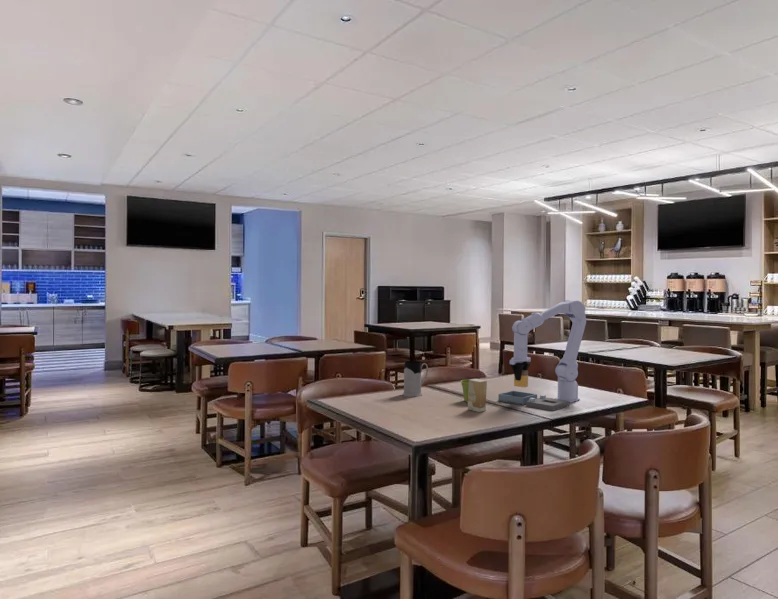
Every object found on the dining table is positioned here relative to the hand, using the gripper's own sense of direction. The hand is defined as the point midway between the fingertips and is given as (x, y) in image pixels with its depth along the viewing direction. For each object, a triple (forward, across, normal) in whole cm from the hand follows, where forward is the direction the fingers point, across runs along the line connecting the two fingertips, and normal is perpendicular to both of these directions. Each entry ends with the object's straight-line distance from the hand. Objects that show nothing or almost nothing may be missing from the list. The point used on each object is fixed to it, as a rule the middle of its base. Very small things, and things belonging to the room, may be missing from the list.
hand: (520, 379), depth 237 cm
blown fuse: (+3, 0, 0) cm, 3 cm away
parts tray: (+10, 0, -1) cm, 10 cm away
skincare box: (+10, +28, -3) cm, 30 cm away
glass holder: (+10, +20, -42) cm, 47 cm away
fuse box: (+9, 0, +13) cm, 16 cm away
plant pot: (+10, +15, -15) cm, 23 cm away
